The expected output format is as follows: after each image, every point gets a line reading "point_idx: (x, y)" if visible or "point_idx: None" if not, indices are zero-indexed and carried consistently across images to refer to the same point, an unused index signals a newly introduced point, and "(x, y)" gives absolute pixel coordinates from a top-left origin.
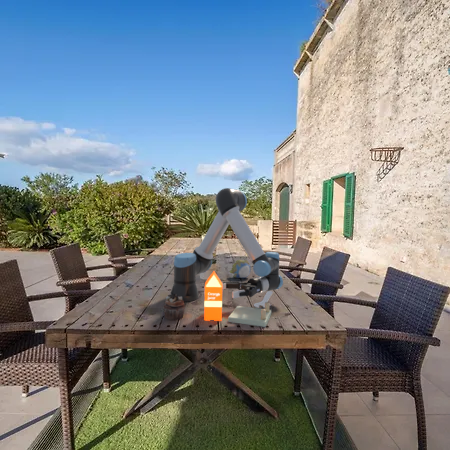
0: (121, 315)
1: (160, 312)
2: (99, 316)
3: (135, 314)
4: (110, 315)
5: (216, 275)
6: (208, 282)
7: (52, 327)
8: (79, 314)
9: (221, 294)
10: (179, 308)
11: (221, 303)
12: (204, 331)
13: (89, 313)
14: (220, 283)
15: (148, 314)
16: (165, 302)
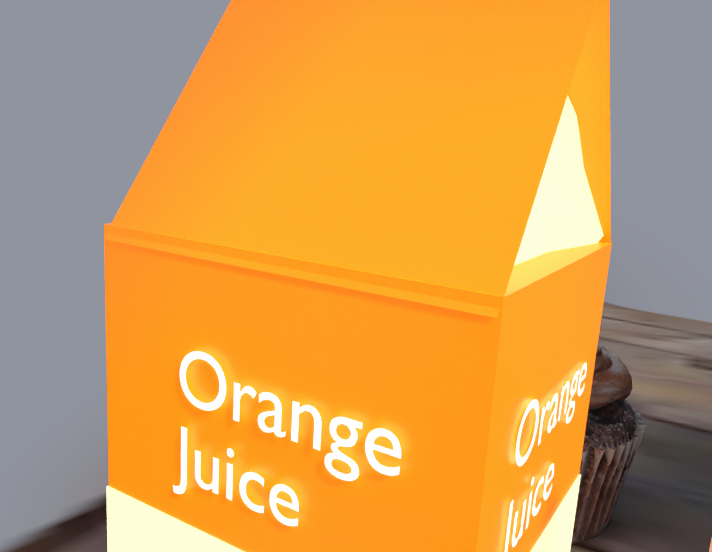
0: (632, 373)
1: (664, 475)
2: (632, 342)
3: (639, 400)
4: (640, 357)
5: (483, 62)
6: (574, 246)
7: None
8: (672, 325)
9: (118, 361)
10: None
11: (117, 522)
12: (71, 517)
13: (683, 336)
14: (232, 189)
15: None
16: None
